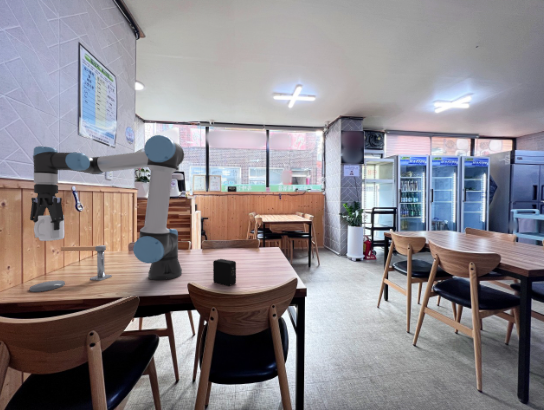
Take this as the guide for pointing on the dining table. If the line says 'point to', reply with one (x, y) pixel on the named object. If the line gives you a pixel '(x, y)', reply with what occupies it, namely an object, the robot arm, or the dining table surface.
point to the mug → (47, 228)
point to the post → (100, 267)
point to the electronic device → (224, 272)
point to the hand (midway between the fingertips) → (47, 237)
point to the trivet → (47, 286)
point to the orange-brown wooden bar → (83, 248)
